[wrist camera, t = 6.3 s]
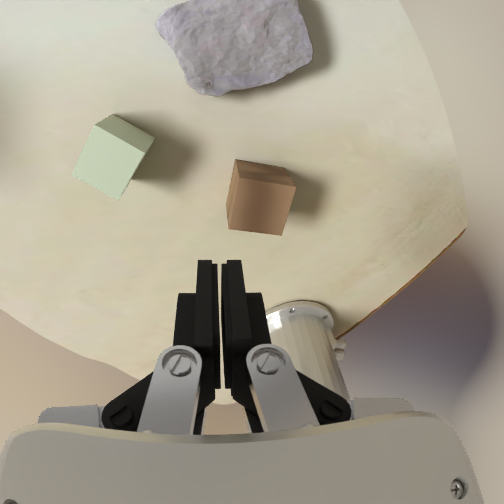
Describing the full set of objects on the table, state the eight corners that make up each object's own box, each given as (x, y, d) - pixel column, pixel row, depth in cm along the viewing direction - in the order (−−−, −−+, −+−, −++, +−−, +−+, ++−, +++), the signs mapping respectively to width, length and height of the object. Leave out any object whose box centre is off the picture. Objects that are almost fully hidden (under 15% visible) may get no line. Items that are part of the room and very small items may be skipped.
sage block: (155, 138, 26) (144, 153, 22) (131, 179, 28) (118, 200, 24) (112, 113, 24) (94, 124, 20) (91, 156, 26) (71, 174, 22)
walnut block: (284, 167, 30) (296, 187, 26) (272, 210, 32) (281, 235, 28) (235, 159, 29) (239, 177, 25) (226, 204, 31) (228, 229, 27)
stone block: (310, 58, 25) (276, -30, 18) (328, 68, 22) (291, -35, 14) (198, 100, 27) (153, 17, 20) (199, 117, 24) (144, 20, 16)
